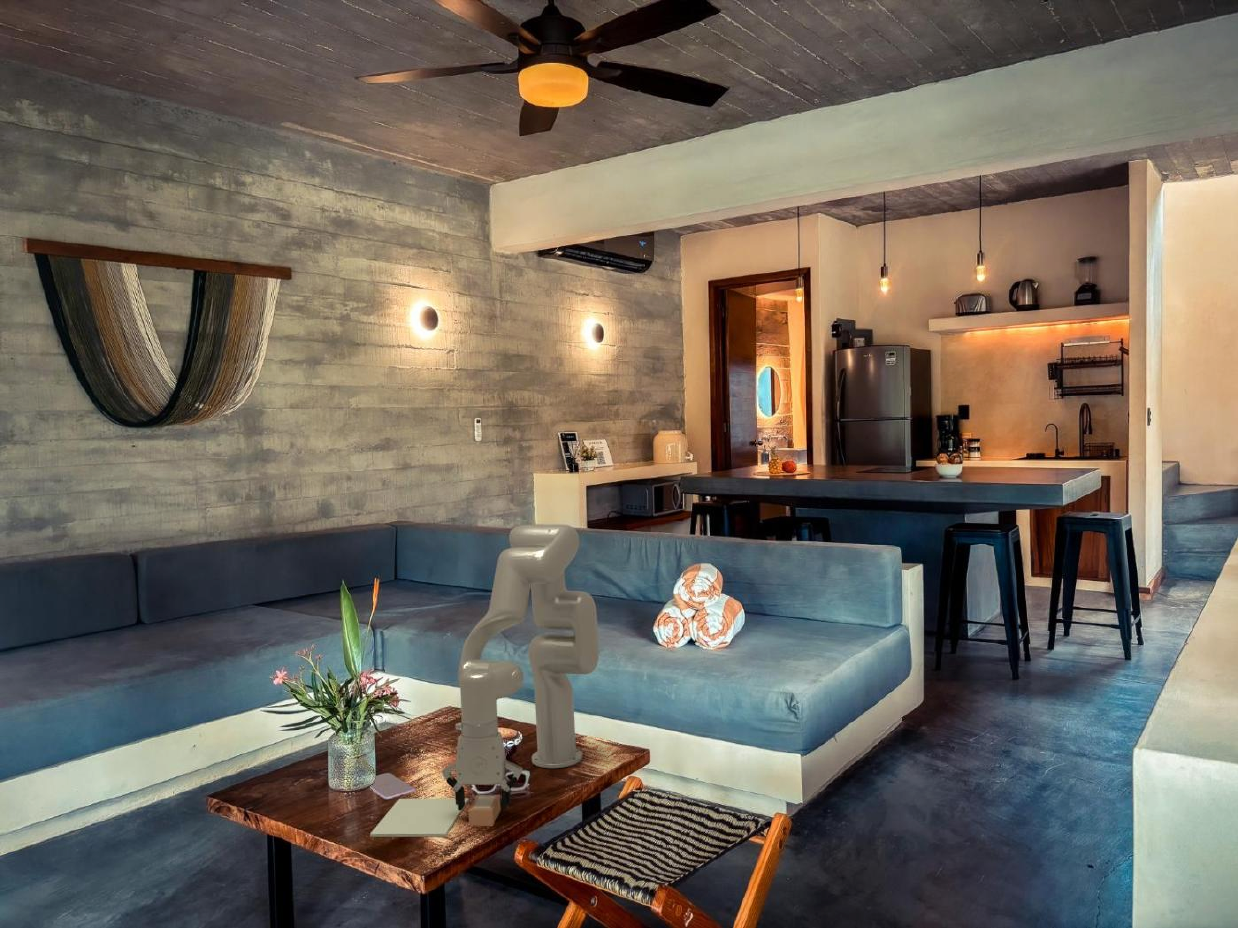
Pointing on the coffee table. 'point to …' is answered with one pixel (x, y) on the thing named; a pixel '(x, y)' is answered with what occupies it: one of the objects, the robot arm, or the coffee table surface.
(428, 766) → the coffee table surface
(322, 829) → the coffee table surface
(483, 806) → the block
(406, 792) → the mobile phone
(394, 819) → the play mat
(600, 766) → the coffee table surface
